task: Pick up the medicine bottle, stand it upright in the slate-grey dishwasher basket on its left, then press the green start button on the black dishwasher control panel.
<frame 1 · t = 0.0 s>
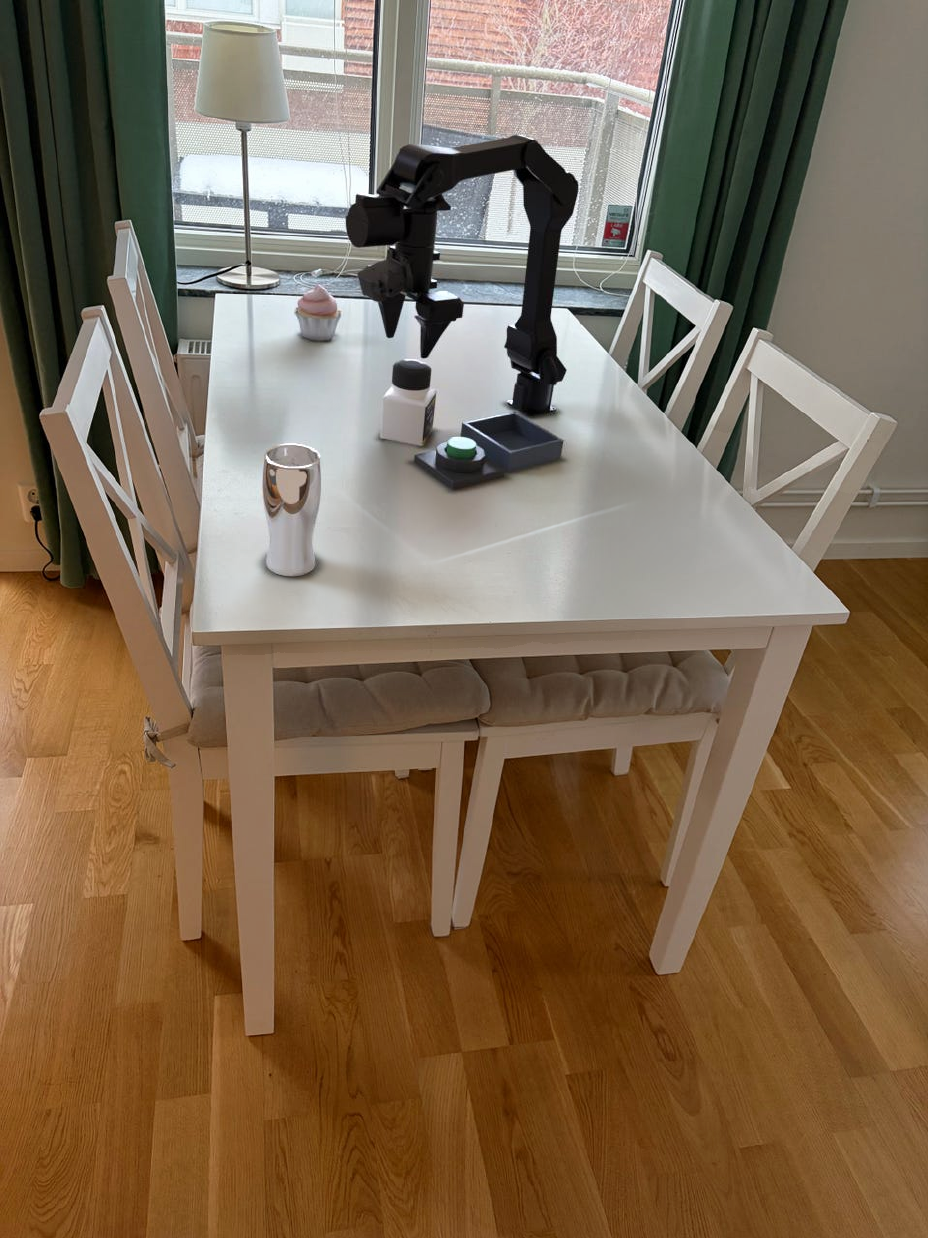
hand: (406, 347, 152), 15 cm above the table, tool pointing down, fingers open, 9 cm apart
control panel: (458, 470, 153), on the table
start button: (461, 448, 151), point 4 cm above the table, slide at 0.1 cm
medicine bottle: (406, 435, 162), on the table
cupcake: (317, 336, 195), on the table
dishwasher basket: (509, 450, 161), on the table
beer glass: (290, 565, 126), on the table
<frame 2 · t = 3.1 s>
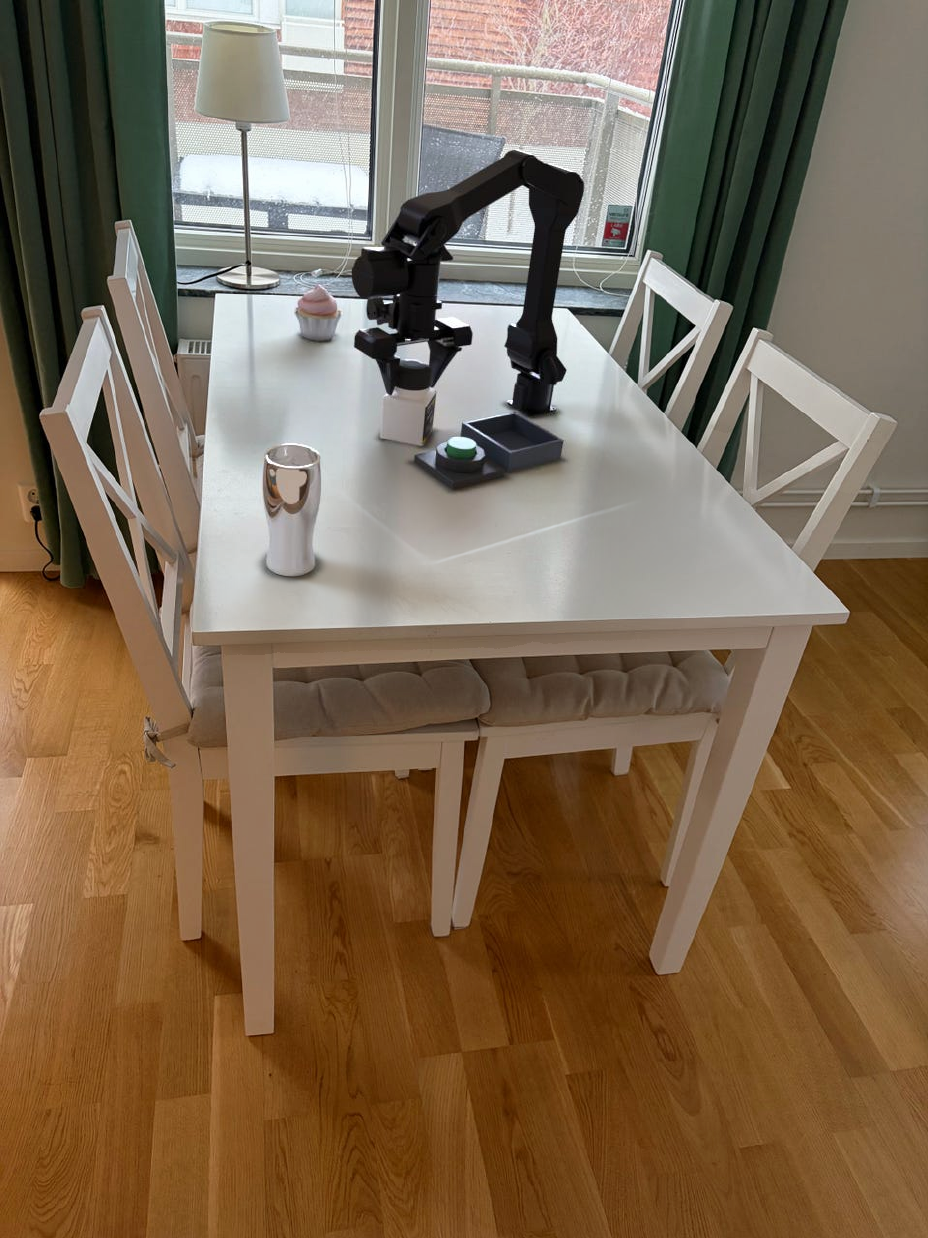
hand: (410, 390, 157), 8 cm above the table, tool pointing down, fingers closed on medicine bottle, 8 cm apart
medicine bottle: (406, 435, 162), on the table, touching gripper
everything else where it was.
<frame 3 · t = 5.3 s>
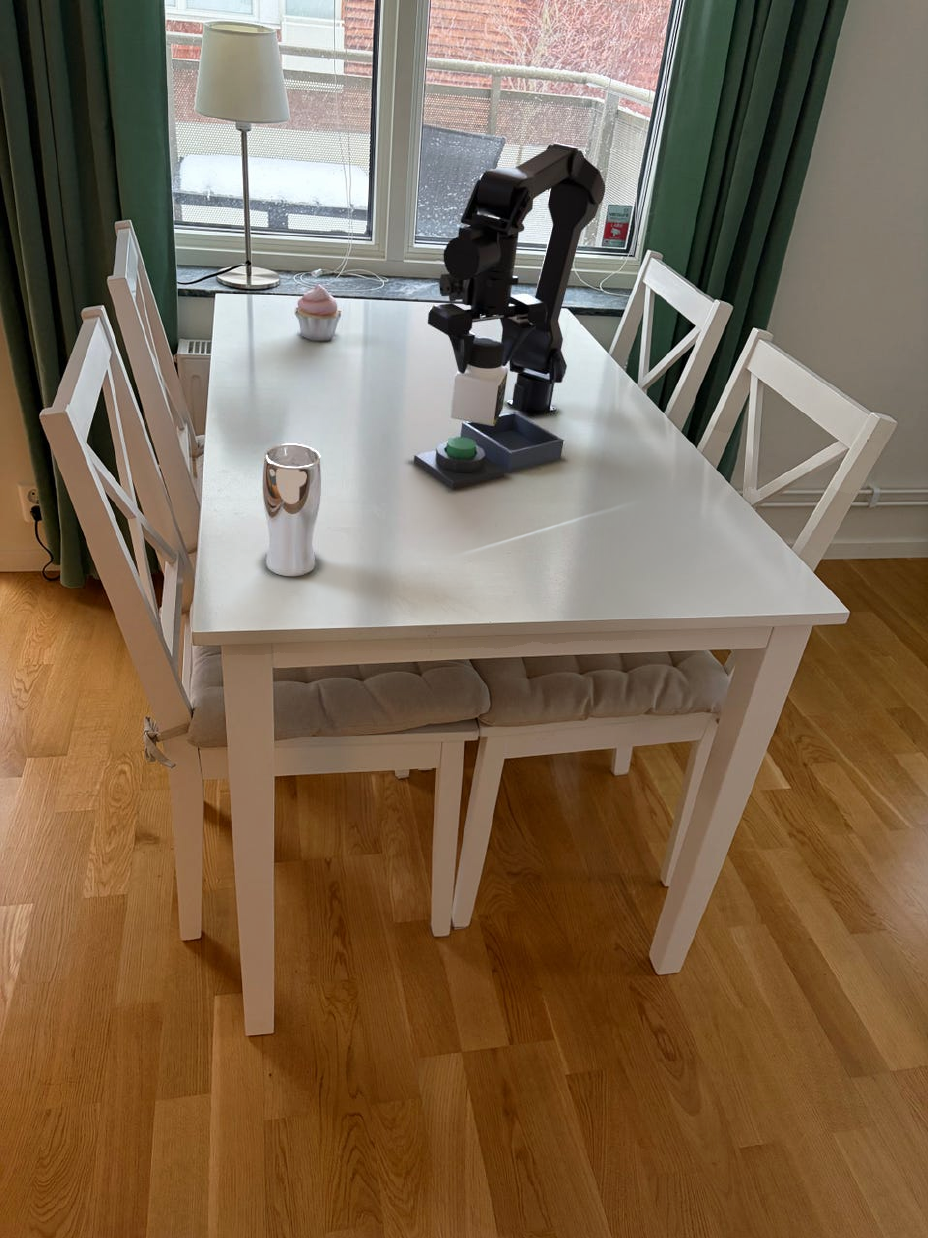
hand: (482, 368, 154), 13 cm above the table, tool pointing down, fingers closed on medicine bottle, 8 cm apart
medicine bottle: (476, 415, 158), point 5 cm above the table, touching gripper
everything else where it was.
when the fingers open (8 cm above the table, at t = 7.6 s): medicine bottle stays where it is, resting on dishwasher basket.
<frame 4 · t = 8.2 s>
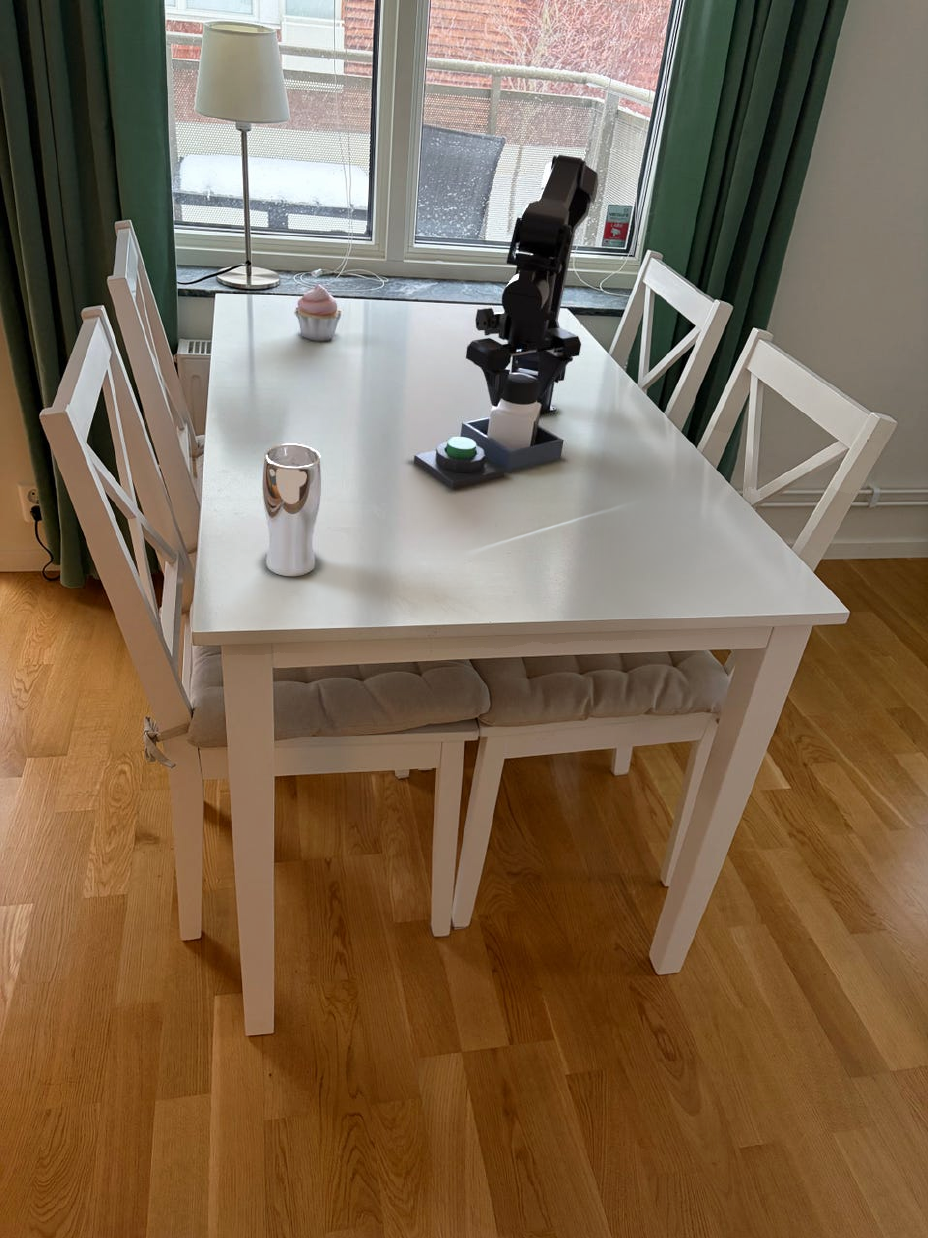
hand: (517, 401, 156), 8 cm above the table, tool pointing down, fingers open, 9 cm apart
medicine bottle: (510, 449, 161), resting on dishwasher basket
everything else where it was.
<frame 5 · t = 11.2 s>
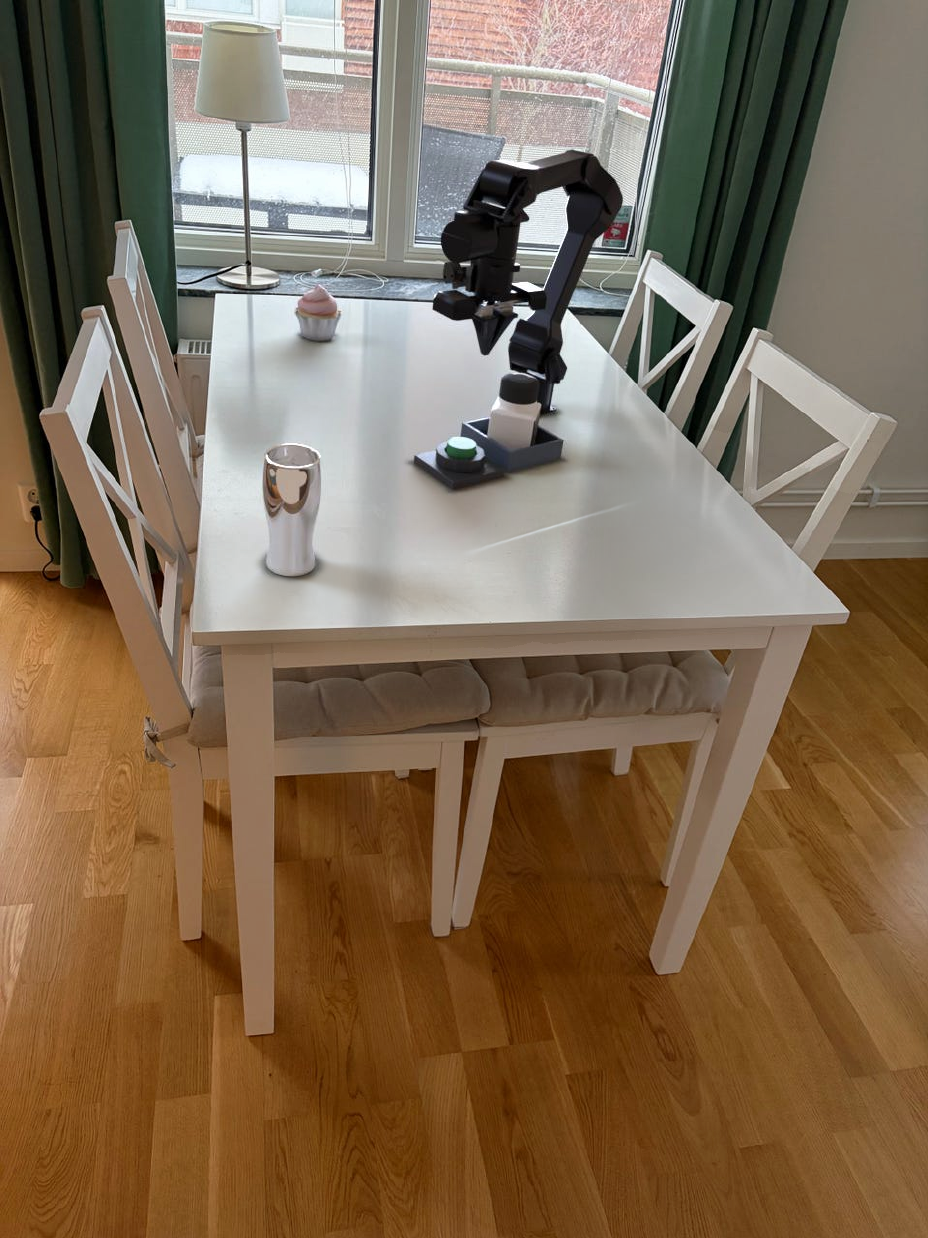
hand: (484, 354, 158), 13 cm above the table, tool pointing down, fingers closed
nothing on the table moved.
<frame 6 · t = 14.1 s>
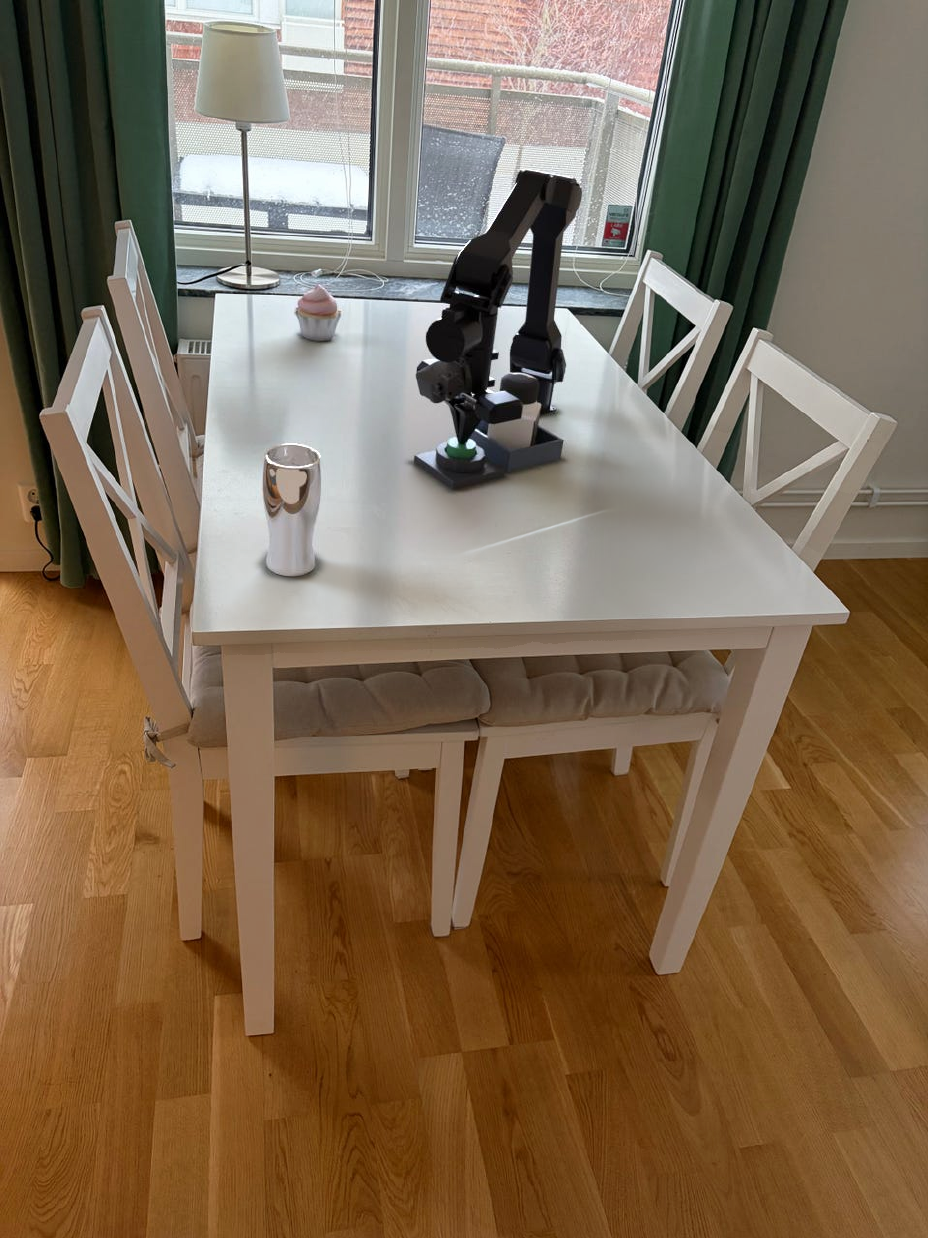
hand: (461, 442, 150), 5 cm above the table, tool pointing down, fingers closed, pressing on start button
start button: (461, 448, 151), point 4 cm above the table, slide at 0.1 cm, touching gripper
everything else where it was.
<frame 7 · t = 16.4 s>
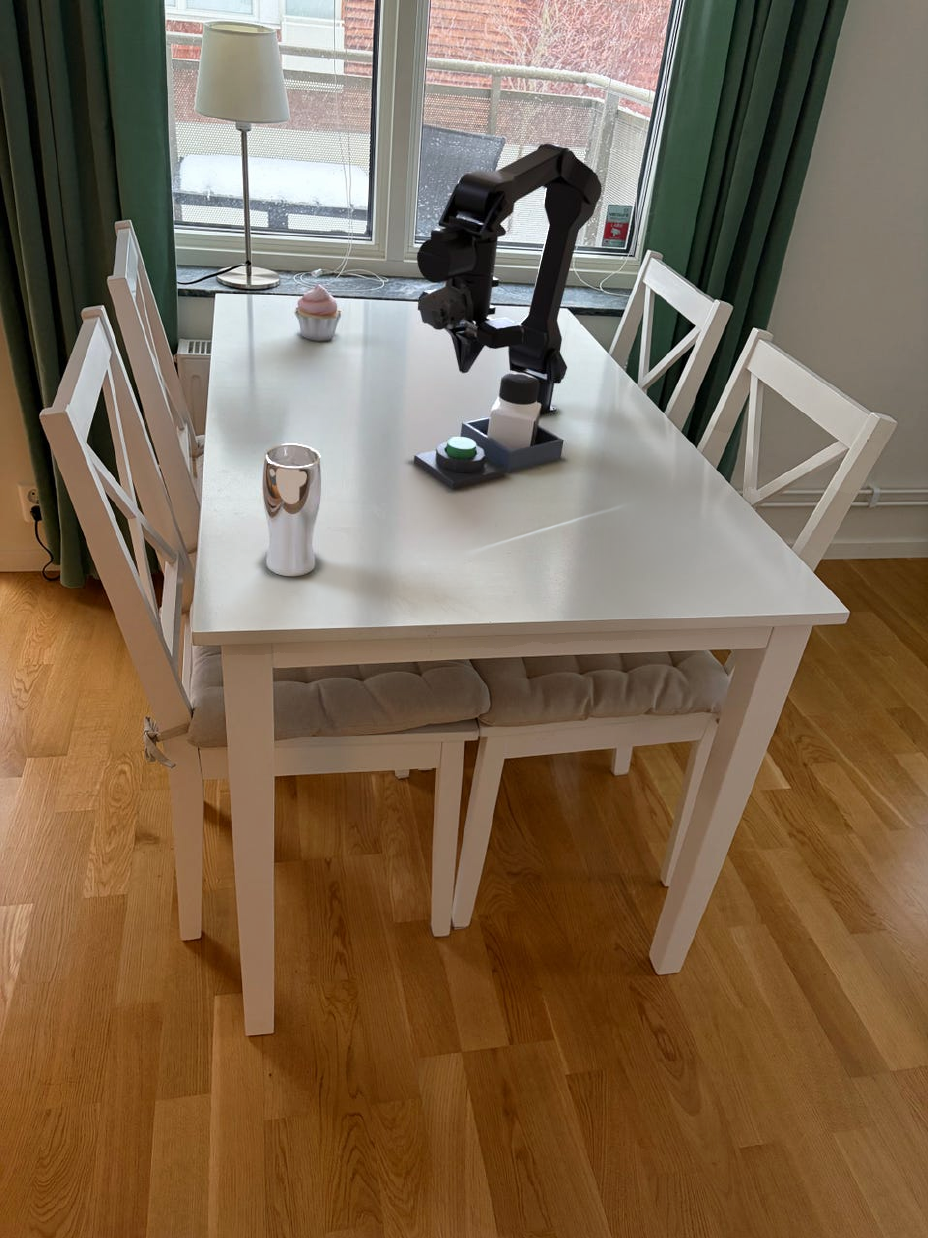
hand: (463, 372, 154), 12 cm above the table, tool pointing down, fingers closed
start button: (461, 448, 151), point 4 cm above the table, slide at 0.1 cm
everything else where it was.
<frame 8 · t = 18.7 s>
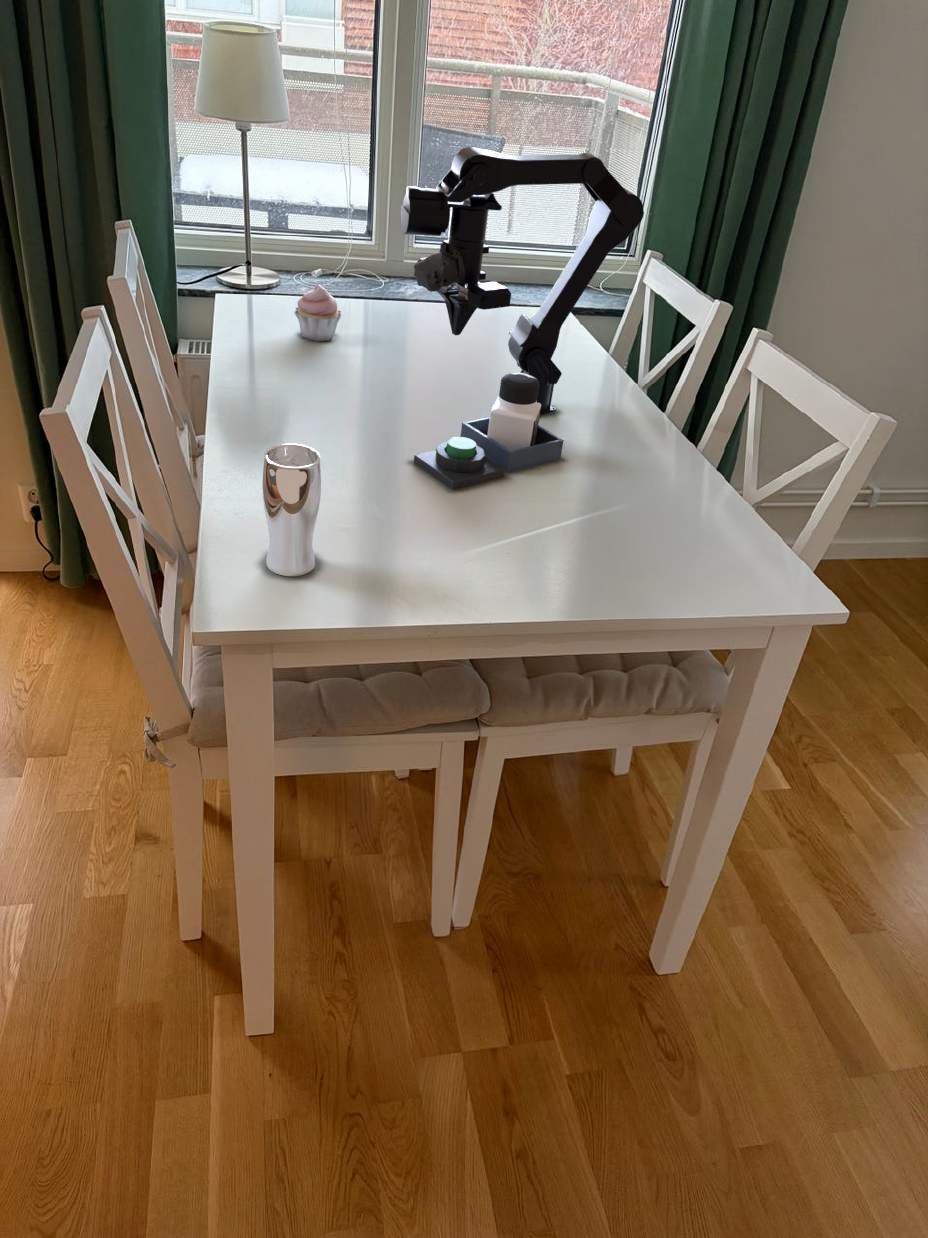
hand: (456, 334, 165), 13 cm above the table, tool pointing down, fingers closed
nothing on the table moved.
at the end: medicine bottle inside the target area in the dishwasher basket (0.1 cm from its centre), point 0.2 cm above the dishwasher basket's base; medicine bottle tilted 0°; start button pushed in 1.0 cm at the most during the clip, back to where it started at the end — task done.
